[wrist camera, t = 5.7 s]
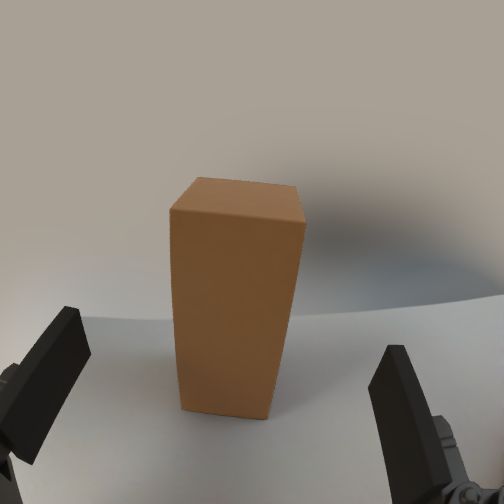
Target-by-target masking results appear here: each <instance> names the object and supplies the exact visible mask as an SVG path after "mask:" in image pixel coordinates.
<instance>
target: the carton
mask: <svg viewBox="0 0 504 504" xmlns="http://www.w3.org/2000/svg"><path fill="white" fill-rule="evenodd" d="M305 229H306V220H305V216H304V213H303V209H302V206H301V202H300V199H299V195H298V192H297V189H296V187H295V186H287V185H278V184H269V183H260V182H249V181H239V180H228V179H216V178H204V177H198V178H197V179H196V180H195V181H194V182H193V183H192V184H191V185H190V187H189V188H188V189H187V190H186V191H185V192H184V193H183V194H182V195H181V197H180V198H179V199H178V200H177V201H176V202H175V203H174V205H173V206H172V207H171V208H170V262H171V263H170V264H171V288H172V308H173V324H174V338H175V351H176V362H177V373H178V383H179V393H180V401H181V409H183V410H189V411H195V412H202V413H209V414H216V415H224V416H233V417H242V418H253V419H267V418H268V414H269V410H270V406H271V402H272V397H273V393H274V388H275V384H276V379H277V375H278V370H279V366H280V361H281V356H282V351H283V347H284V342H285V337H286V332H287V327H288V322H289V317H290V312H291V307H292V302H293V296H294V291H295V285H296V280H297V275H298V269H299V264H300V258H301V252H302V246H303V240H304V234H305Z"/></svg>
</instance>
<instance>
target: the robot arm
mask: <svg viewBox="0 0 504 504" xmlns="http://www.w3.org/2000/svg"><path fill="white" fill-rule="evenodd" d="M90 356H91V352H90V349H89V345H88V342H87V338H86V335H85V331H84V327H83V324H82V320H81V316H80V312H79V309H77V308H72V307H68V306H64V308H63V309H62V310H61V311H60V312H59V314H58V315H57V316H56V317H55V319H54V320H53V321H52V323H51V324H50V325H49V326H48V327H47V329H46V330H45V331H44V333H43V334H42V335H41V336H40V338H39V339H38V340H37V342H36V343H35V344H34V346H33V347H32V348H31V350H30V351H29V352H28V354H27V355H26V356H25V358H24V359H23V361H22V362H21V363H20V365H18V364H15V363H13V364H12V365H10V366H9V367H7V368H6V369H5V370H4V371H3V372H2V374H1V375H0V504H23V502H22V499H21V496H20V492H19V489H18V485H17V482H16V478H15V474H14V470H13V466H12V462H11V459H10V456H9V453H10V451H12V452H13V453H14V455H15V456H16V457H17V458H19V459H21V460H22V461H24V462H26V463H28V464H30V465H33V463H34V461H35V458H36V456H37V454H38V452H39V450H40V448H41V446H42V444H43V442H44V440H45V438H46V436H47V434H48V432H49V430H50V428H51V426H52V424H53V422H54V420H55V419H56V417H57V415H58V413H59V411H60V409H61V407H62V405H63V404H64V402H65V400H66V398H67V396H68V394H69V393H70V391H71V389H72V387H73V385H74V384H75V382H76V380H77V378H78V376H79V375H80V373H81V371H82V369H83V368H84V366H85V364H86V363H87V361H88V359H89V357H90ZM368 390H369V394H370V398H371V402H372V406H373V411H374V415H375V419H376V423H377V428H378V432H379V437H380V441H381V446H382V451H383V456H384V460H385V465H386V470H387V476H388V481H389V486H390V492H391V497H392V503H393V504H504V486H502V487H501V488H500V489H482V488H480V487H479V485H477V484H476V483H475V482H471V481H470V480H469V479H468V476H467V474H466V471H465V468H464V464H463V461H462V458H461V455H460V453H459V450H458V447H456V445H457V444H456V441H455V438H453V433H452V430H451V427H450V425H449V424H448V422H447V421H446V420H445V419H444V418H443V416H442V415H440V416H432V415H431V413H430V410H429V407H428V404H427V402H426V399H425V396H424V394H423V391H422V389H421V386H420V384H419V381H418V378H417V376H416V373H415V371H414V369H413V366H412V364H411V361H410V359H409V356H408V354H407V352H406V349H405V347H404V345H388V346H387V348H386V350H385V353H384V355H383V357H382V359H381V361H380V364H379V366H378V368H377V370H376V372H375V374H374V376H373V378H372V380H371V382H370V384H369V386H368Z"/></svg>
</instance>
